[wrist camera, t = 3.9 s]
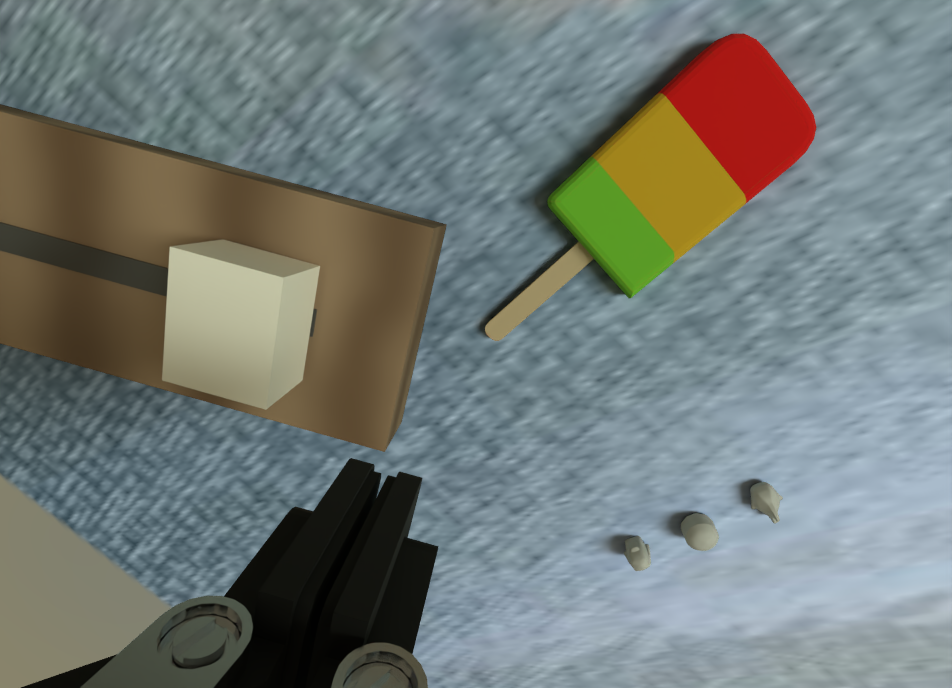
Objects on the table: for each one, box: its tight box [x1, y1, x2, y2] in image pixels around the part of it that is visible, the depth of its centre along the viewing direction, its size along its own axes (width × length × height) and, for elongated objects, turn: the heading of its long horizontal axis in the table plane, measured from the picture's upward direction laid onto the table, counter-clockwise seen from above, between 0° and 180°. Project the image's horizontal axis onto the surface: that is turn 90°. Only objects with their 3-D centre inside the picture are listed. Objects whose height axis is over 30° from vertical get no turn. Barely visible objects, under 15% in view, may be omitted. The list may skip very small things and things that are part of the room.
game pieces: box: [624, 482, 783, 571], centre depth 24 cm, size 8×2×2 cm, turn 117°
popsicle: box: [485, 34, 816, 341], centre depth 20 cm, size 6×15×2 cm, turn 134°
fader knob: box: [162, 239, 320, 410], centre depth 18 cm, size 4×5×3 cm
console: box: [0, 104, 447, 452], centre depth 22 cm, size 28×10×3 cm, turn 76°
